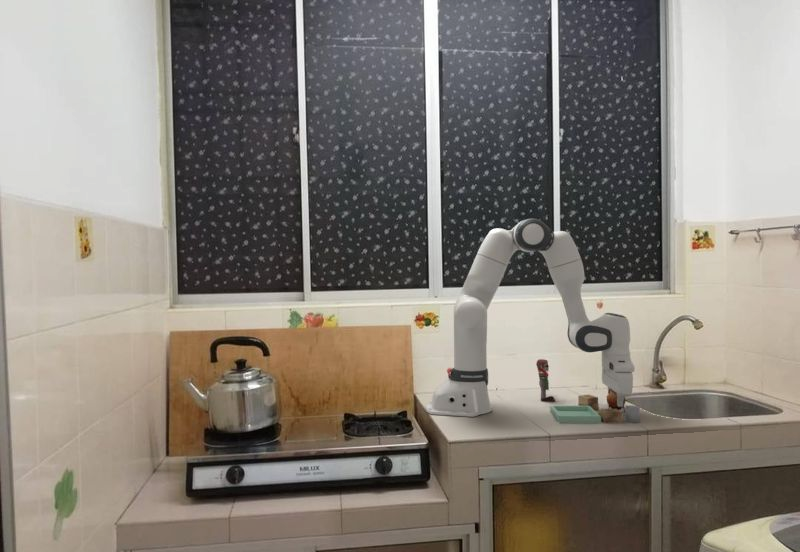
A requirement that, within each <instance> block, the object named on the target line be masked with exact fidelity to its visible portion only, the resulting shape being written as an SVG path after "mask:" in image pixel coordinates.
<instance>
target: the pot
mask: <svg viewBox="0 0 800 552" xmlns="http://www.w3.org/2000/svg"><path fill="white" fill-rule="evenodd" d="M610 391H611V393H610ZM616 400H617V393H616V392H614V391H613V390H612V389H609V390H608V389H607V395H606V403H607V405H608V409H618V410H619V411H622V409H623V411H624V413H626V408H625V405H626V401H627V399H626V397H625V398H624V401H623V406H622V407H618V406H617V405H616Z"/></svg>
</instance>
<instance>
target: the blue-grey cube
mask: <svg viewBox="0 0 800 552" xmlns="http://www.w3.org/2000/svg"><path fill="white" fill-rule="evenodd" d="M625 421H626V422H627V423H629V424H639V423H641V408H640V406H636V405H626V406H625Z"/></svg>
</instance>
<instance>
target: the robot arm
mask: <svg viewBox="0 0 800 552" xmlns="http://www.w3.org/2000/svg"><path fill="white" fill-rule="evenodd" d="M516 252H522V253H524V252H525V253H534V252H539V253H540V254H542V256H543V258H544V259H545V262H546V265H547V268H548V272H549V274H550V277H551V279H552V282H553V284H554V285H555V287H556V289H557V291H558V293H559V295H560V297H561V300H562V303H563V307H564V309H565V314H566V318H567V320H568V321H567V322H568V324H567V325H568V326H567V333H566V334H567V339H568V341H569V343H570V344H571V345H572V346H573V347H575V348H577V349H579V350H580V351H583V352H584V353H596V352H601V381H602V384H603V385H605V386H606V388H607V391H608V390H609V389H612V390H613V391H614V392H616V393H617V400H616V405H617V406H618V407H622V406H623V401H624V398H625V399H626V397H631V395H632V393H633V387H634V383H633V382H634V376H633V373H634V372H635V365H634V363H633V362H632V359H631V350H630V344H631V343H630V342H631V329H630V327H631V326H630V322H629V318H627V317H626V316H624V315H622V314H617V313H614V312H613V313H612V312H605V313H603V314H602V315H600V316H599V317H597V318H595V319H593V320H589V318H588V316H587V312H586V309H585V306H584V301H583V299H582V295H581V293H582V292H581V290H582V286H583V283H584V282H585V278H586V277H585V269H584V264H583V261H582V257H581V254H580V253H579V250H578V247H577V245H576V243H575V241H574V239H573V237H572V236H571V234H570V233H569V232H568V231H563V230H556V231H553V230H552V229H551V228H550V227H549V226H548V225H546V224H545V223H544V222H543V221H542V220H540V219H537V218H532V217H531V218H527V219H522V220H520V222H518V223H517V224H516V225H514V227H512V228H511V229H510V230H507V229H504V228H501V227H499V228H497V227H496V228H493V229H491V230H489V232H488V234H487V235H486V236H485V237H484V238H483V241H482V242H481V244H480V246H479V248H478V250H477V252H476V253H477V254H475V255H476V256H475V258H474V260H473V263H472V264H471V267H470V269H469V272H468V274H467V276H466V278H465V281H464V282H463V286H462V287H461V290H460V292H459V294H458V297H457V299H456V302H455V304H454V307H453V360H454V361H453V366H454V367H447V369H446V372H447V376H448V379H446V380H445V381H444V382H443V383H442V384H440V385H439V386H438V387H436V388H435V389H434V391H433V394H432V397H431V398H432V399H431V401H430V402H428V403H427V404H425V411H426V412H427V413H428V414H430V415H436V416H437V415H440V416H442V415H443V416H454V417H471V418H473V417H477V416H479V415H484V414H488V413H490V412H492V410H493V409H492V406H491V401H490V396H489V389H488V386H489V369H488V368H487V367H488V366H487V364H488V363H487V343H488V341H487V340H488V337H487V336H488V309H489V306H490V304H491V302H492V301H493V298H494V296H495V294H496V292H497V291H498V289H499V286H500V284H501V282H502V280H503V277H504V276H505V273H506V270H507V268H508V265H509V263H510V261H511V259H512V256H513V255H514V253H516ZM610 393H611V391H610Z"/></svg>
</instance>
